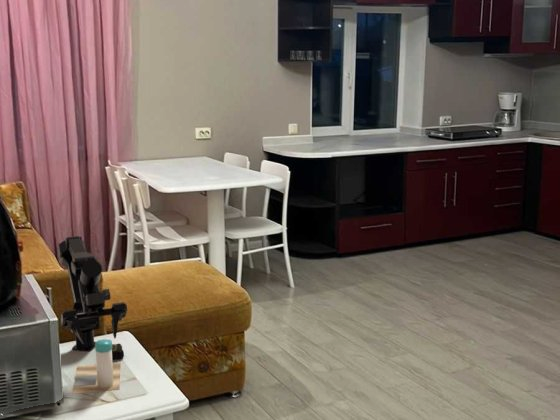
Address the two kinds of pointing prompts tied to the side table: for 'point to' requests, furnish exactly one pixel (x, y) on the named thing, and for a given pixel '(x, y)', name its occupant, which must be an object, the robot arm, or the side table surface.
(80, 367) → the board
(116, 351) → the tape measure
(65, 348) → the side table surface
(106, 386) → the ball
